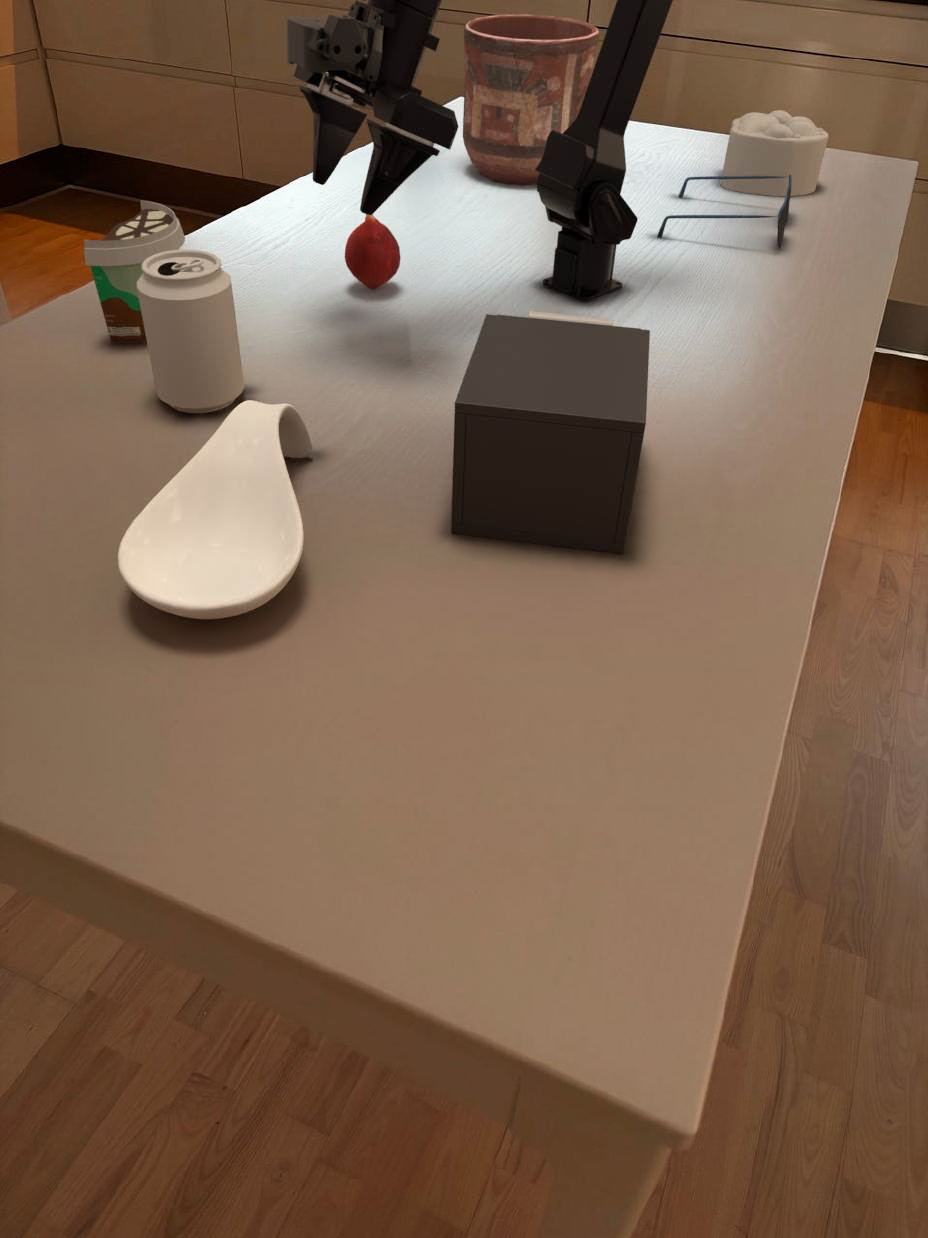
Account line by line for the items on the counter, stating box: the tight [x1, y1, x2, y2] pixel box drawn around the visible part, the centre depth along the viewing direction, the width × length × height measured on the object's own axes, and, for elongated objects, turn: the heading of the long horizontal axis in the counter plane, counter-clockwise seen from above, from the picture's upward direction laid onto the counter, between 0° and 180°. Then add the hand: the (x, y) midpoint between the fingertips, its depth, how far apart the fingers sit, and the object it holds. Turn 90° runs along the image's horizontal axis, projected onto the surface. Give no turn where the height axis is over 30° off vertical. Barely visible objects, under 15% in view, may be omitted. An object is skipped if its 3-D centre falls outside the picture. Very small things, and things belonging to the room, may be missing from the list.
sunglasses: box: [656, 175, 792, 248], centre depth 125 cm, size 17×15×5 cm
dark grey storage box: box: [450, 314, 651, 555], centre depth 74 cm, size 15×13×11 cm
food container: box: [83, 199, 186, 344], centre depth 94 cm, size 12×6×10 cm, turn 168°
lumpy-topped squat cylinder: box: [719, 109, 829, 197], centre depth 137 cm, size 10×13×9 cm
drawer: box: [499, 310, 641, 329], centre depth 77 cm, size 18×11×9 cm, turn 171°
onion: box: [344, 213, 401, 291], centre depth 104 cm, size 6×6×8 cm
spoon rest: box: [117, 399, 313, 620], centre depth 69 cm, size 24×12×7 cm, turn 175°
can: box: [137, 248, 245, 414], centre depth 83 cm, size 8×8×12 cm
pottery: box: [462, 14, 600, 186], centre depth 134 cm, size 18×18×18 cm
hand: (341, 197), depth 88 cm, fingers open, 9 cm apart
